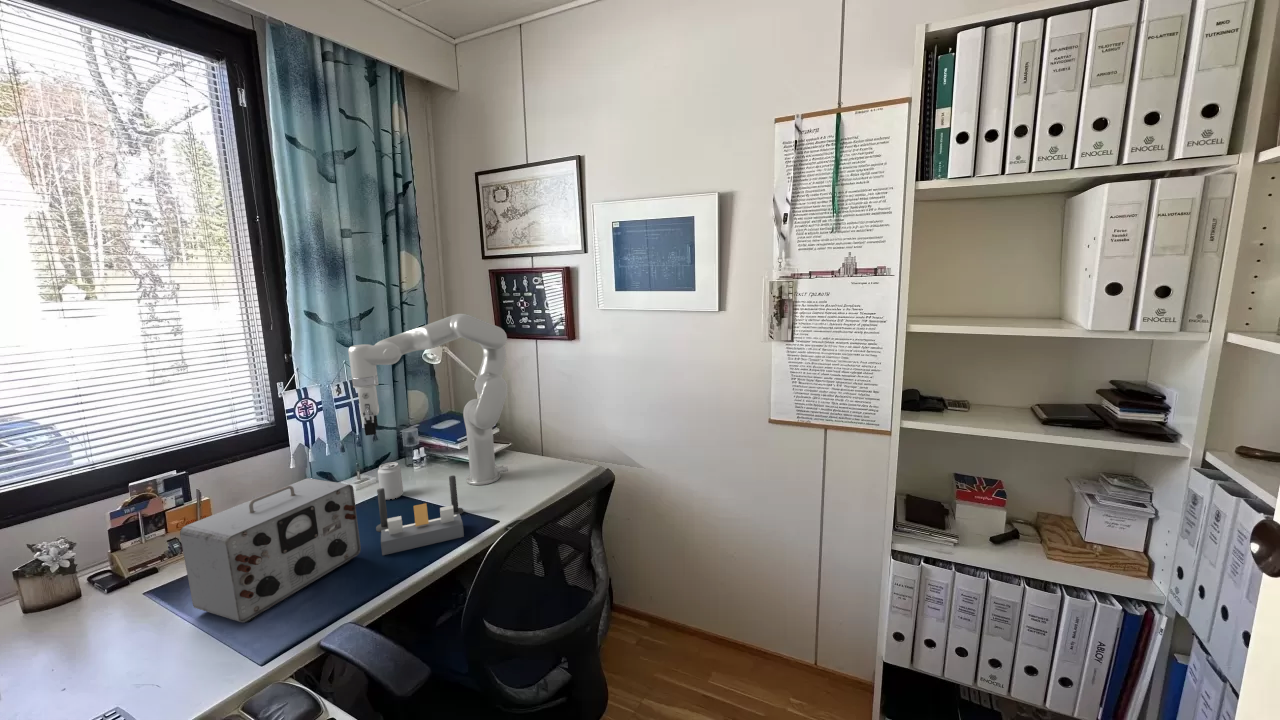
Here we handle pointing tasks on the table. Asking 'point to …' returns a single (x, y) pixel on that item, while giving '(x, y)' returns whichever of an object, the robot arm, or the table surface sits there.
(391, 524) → the lever left
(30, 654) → the table surface
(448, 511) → the lever right
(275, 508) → the vintage electronic device
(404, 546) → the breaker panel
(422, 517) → the lever
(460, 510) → the post
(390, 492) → the can
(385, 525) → the post
